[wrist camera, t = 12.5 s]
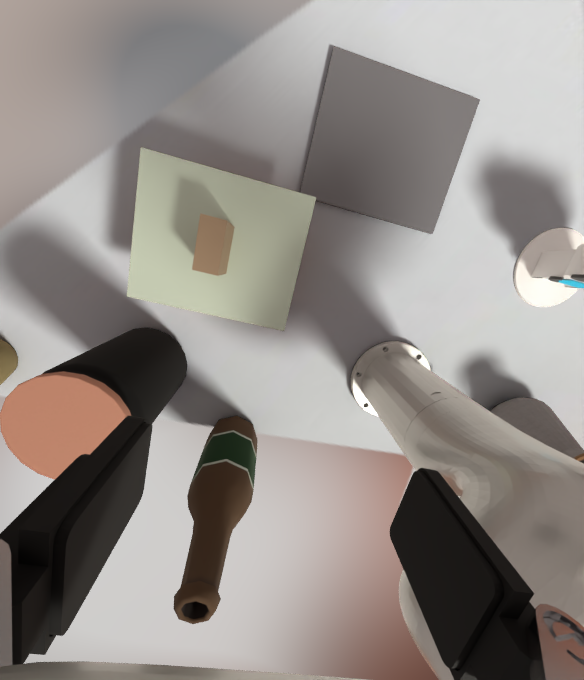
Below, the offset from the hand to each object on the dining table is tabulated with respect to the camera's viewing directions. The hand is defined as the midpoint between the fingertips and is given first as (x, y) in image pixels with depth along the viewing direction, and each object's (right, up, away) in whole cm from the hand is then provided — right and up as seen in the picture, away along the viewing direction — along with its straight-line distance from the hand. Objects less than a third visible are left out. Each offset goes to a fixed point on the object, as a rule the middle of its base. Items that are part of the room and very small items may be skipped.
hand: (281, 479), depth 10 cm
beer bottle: (-9, -11, +36) cm, 39 cm away
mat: (+12, +29, +26) cm, 41 cm away
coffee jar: (-20, +2, +32) cm, 38 cm away
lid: (-8, +15, +22) cm, 27 cm away
